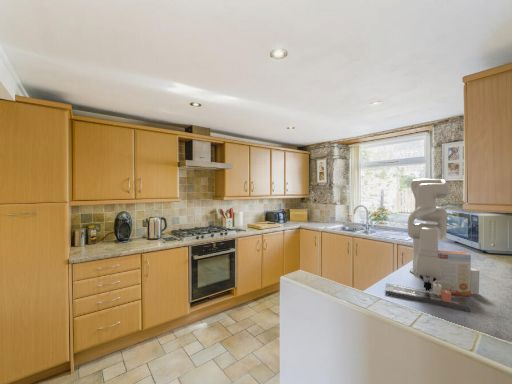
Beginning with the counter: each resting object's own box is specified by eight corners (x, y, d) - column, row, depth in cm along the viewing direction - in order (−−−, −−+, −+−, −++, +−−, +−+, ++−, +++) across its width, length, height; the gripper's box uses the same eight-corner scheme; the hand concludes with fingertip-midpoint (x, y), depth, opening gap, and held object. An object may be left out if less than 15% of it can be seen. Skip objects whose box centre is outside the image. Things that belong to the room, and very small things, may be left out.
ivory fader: (432, 291, 118) (432, 282, 118) (440, 292, 116) (440, 284, 116) (433, 294, 114) (434, 285, 114) (441, 295, 113) (441, 286, 113)
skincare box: (460, 288, 127) (461, 266, 127) (469, 289, 127) (469, 266, 127) (470, 293, 121) (471, 270, 121) (479, 294, 121) (480, 270, 121)
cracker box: (464, 292, 123) (465, 251, 123) (470, 297, 117) (471, 254, 117) (432, 288, 127) (433, 249, 127) (436, 292, 122) (437, 251, 121)
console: (386, 286, 128) (386, 282, 128) (463, 301, 112) (463, 297, 112) (385, 294, 118) (385, 290, 118) (470, 311, 102) (470, 306, 102)
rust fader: (440, 297, 111) (441, 288, 111) (449, 299, 109) (449, 290, 109) (442, 301, 107) (442, 292, 107) (451, 302, 106) (451, 293, 106)
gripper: (446, 253, 117) (445, 290, 117) (409, 249, 124) (409, 284, 124) (449, 257, 110) (448, 296, 110) (410, 252, 118) (409, 289, 118)
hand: (427, 289), depth 117 cm, fingers closed
